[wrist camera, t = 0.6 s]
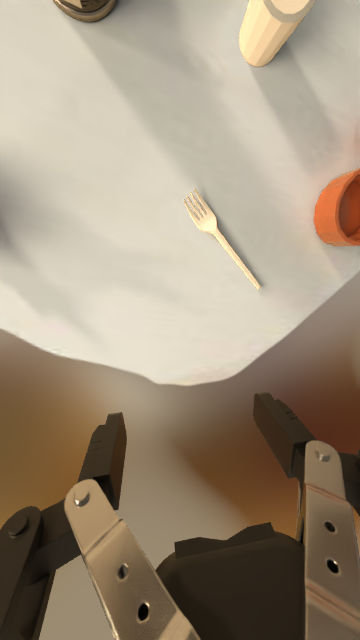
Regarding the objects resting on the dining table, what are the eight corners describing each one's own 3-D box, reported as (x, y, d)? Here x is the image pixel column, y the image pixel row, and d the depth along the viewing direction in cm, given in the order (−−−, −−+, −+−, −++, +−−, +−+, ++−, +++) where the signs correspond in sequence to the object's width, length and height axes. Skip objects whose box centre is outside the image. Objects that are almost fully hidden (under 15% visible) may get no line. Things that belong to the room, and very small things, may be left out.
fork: (251, 294, 40) (256, 296, 38) (179, 204, 34) (181, 202, 32) (265, 282, 39) (270, 283, 38) (194, 189, 33) (197, 185, 31)
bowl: (315, 176, 35) (341, 165, 30) (377, 172, 36) (411, 161, 31) (308, 248, 39) (330, 248, 34) (364, 243, 40) (393, 242, 35)
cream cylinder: (285, 66, 30) (323, 13, 23) (239, 78, 30) (264, 29, 23) (280, -3, 28) (320, -83, 21) (230, 10, 27) (255, -67, 21)
